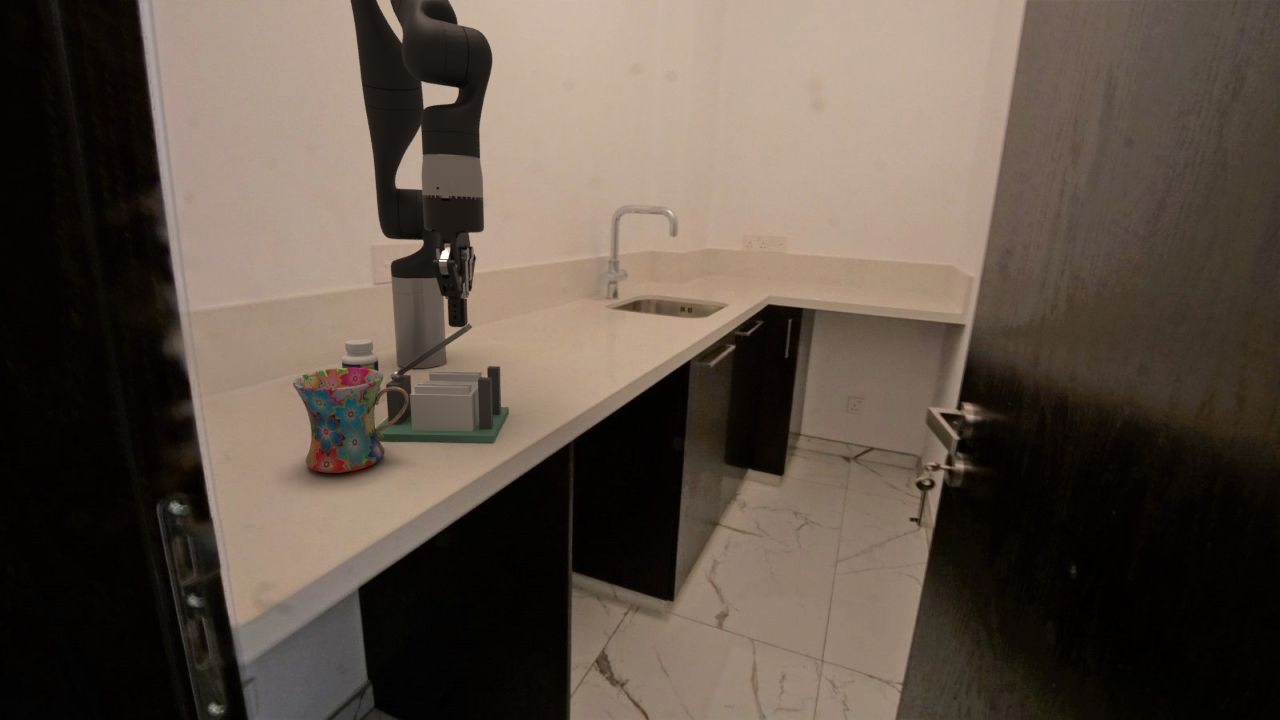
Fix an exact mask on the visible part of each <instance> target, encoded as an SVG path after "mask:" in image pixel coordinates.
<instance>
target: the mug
mask: <svg viewBox="0 0 1280 720" xmlns="http://www.w3.org/2000/svg"><path fill="white" fill-rule="evenodd" d="M383 379H384V374H383V373H382V372H380V370H379V371H377V370H373V369H367V368H342V367H338V368H327V369H321V370H318V371H316V370H315V371H312V372H309V373H305V374H302V375H300V376H298V377H296V378H295V379H294V380H293V382H292V386H293V388H294V389H295V390H296V392H297V394H298V396H299V397H300V398H301V401H302V402H303V405H304V407H305V410H306V412H307V415H308V420H309V425H310V434H311V435H310V436H311V437H310V439H311V440H310V447H309V451H308V453H307V456H306V458H305V465H306V466H307V467H308V468H310V469H311V470H313V471H316V472H319V473H320V472H321V473H327V474H328V473H330V474H338V473H339V474H341V473H348V472H354V471H358V470H362V469H366V468H367V467H370V466H372V465H374V464H376V463H378V462H379V461H380V460H381V459H383V457H384V455H385V453H386V451H385V450H386V449H385V446H383V444H382V442H381V441H379V438H381V439H383V438H384V435H382V434H381V433H380V431H382V430H384V429H386V428H387V427H389V426H391V425H392V424H393V423H395V422H396V421H397V420H398V419H399V418H400V417H401V415H402V414H403V413H404V411H405V409H406V407H407V405H408V399H409V398H408V394H407V392H406V391H405V390H404V389H402V388H400V387H388V388H386V387H385V388H384V389H382V390H380V393H379V394H378V395H377V393H378V390H379V387H380V388H381V384H382V382H383ZM391 390H395V391H399V392H401V393H402V394H403V395H404V397H405V402H404V406H403V408H402V410H401V411H400V412H399V414H398V415H397V416H396V417H395V418H394V419H393V420H391V421H390V422H388V423H387V424H385V425H383V426H381V427H380V428H378V429H377V430H376V422H375V407H376V406H378V405H379V402H380V399H381V397H382V396H383V395H384V394H385V393H386V392H388V391H391ZM386 394H387V393H386ZM378 437H379V438H378Z"/></svg>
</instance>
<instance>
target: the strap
mask: <svg viewBox="0 0 1280 720" xmlns="http://www.w3.org/2000/svg"><path fill="white" fill-rule="evenodd" d="M472 328H473V326H472V324H470V323H467V325H465V326H464V327H461V328H460V329H459V330H457V331H455V332H454V333H452V334H451V335H449V336H448V337H447V338H445V340H444V341H442V342H441V343H439V344H438V345H436V346H435V347H433V348H432V349H430V350H429V351H427V352H426V353H424V354H423V355H421V356H420V357H418V358H417V359H415V360H414V361H412V362H411V363H409V364H408V365H406V366H405V367H400V368H398V369H397V370H396V371H394V372H393V373H392V374H391V375H390V379H391V381H392V380H397V379H399V378H400V377H401V376H403V375H406V373H407V372H409V371H410V370H412V369H414V368H413V367H415V366H416V365H418V364H419V363H421V362H422V361H424V360H425V359H427V358H428V357H430V356H431V355H433V354H434V353H436V352H437V351H439V350H440V349H442V348H443V347H445V346H446V347H447V346H448V345H449V344H450V343H452V342H454V341H455V340H457V339H459V338H460V337H461V336H464V334H466V333H467V332H469V331H470V330H471V329H472Z"/></svg>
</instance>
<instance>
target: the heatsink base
mask: <svg viewBox="0 0 1280 720" xmlns="http://www.w3.org/2000/svg"><path fill="white" fill-rule="evenodd" d="M486 369H487V370H486V372H487V373H486V374H487V376H486V377H484V376H482V375H483V374H482V371H468V370H467V371H463V370H461V371H459V370H432V371H431V372H430V373H429V374H428V376H429V377H428V378H427V379H426V380H425V381H424V382H418V383H417V385H416V384H415V386H414V387H413V388H414V391H412V379H411V376H412V375H411V374H404V375H403V376H401V377H400V378H399V379H397V380H392V379H391V380H390V381H388V383H386V384H385V388H388V387H400V388H402V389H404V390H405V391H406V392H407V394H408V398H409V399H408V405H407V407H406V409H405V411H404V413H403V414H402V415H401V417H400V418H399V419H398V420H397V421H396V422H395V423H393V424H392V425H391V426H389V427H387V428H386V429H384V430H382V431H380V433H381V434H382V435H384V438H383V439H381V438H379V437H378V438H379V441H380V442H403V443H404V442H407V443H410V442H413V443H415V442H416V443H417V442H418V443H421V442H422V443H469V444H470V443H471V444H472V443H474V444H475V443H477V444H493V443H494V442H495V441H496V439H497V436H498V435H499V432H500V431H501V429H502V428H503V427H502V426H504V425H503V424H504V423H505V422H506V419H507V417H508V416H509V414H510V411H509V409H510V407H509V406H502V397H501V395H502V393H501V392H502V391H501V389H502V388H501V365H500V366H498V365H496V366H494V365H493V366H492V365H491V366H490V365H489V366H488V367H487V368H486ZM404 402H405V397H404V395H403V394H402V393H401V392H399V391H395V390H391V391H388V392H386V403H387V417H386V418H385V419H384V420H383V421H381V423H380V424H378V426H375V428H376V430H377V429H378V428H380V427H381V426H383V425H385V424H387V423H388V422H390V421H391V420H393V419H394V418H395V417H396V416H397V415H398V414H399V412H400V411H401V410H402V408H403V406H404Z"/></svg>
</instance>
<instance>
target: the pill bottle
mask: <svg viewBox="0 0 1280 720" xmlns="http://www.w3.org/2000/svg"><path fill="white" fill-rule="evenodd" d="M344 344H345V352H347V354H345V355H343V356H342V359H341V366H342V367H341V368H367V369H373V370H377V371H379V372H380V370H379V357H378V355H377V354H376V353H374V352H372V351H373V350H374V344H373V340H372V339H366V338H365V339H364V338H361V339H359V338H358V339H357V338H356V339H349V340H346V341H345V343H344ZM380 392H381V386H380V387H379V390H378V393H377V395H378V394H379V393H380Z"/></svg>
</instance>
